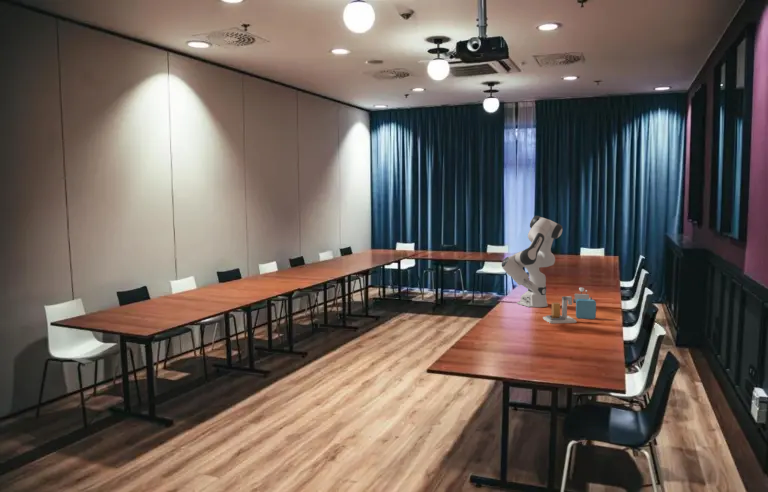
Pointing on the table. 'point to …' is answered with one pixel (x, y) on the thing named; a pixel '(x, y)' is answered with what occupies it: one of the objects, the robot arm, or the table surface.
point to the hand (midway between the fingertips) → (537, 293)
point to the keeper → (564, 317)
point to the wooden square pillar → (555, 310)
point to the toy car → (581, 295)
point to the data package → (585, 309)
